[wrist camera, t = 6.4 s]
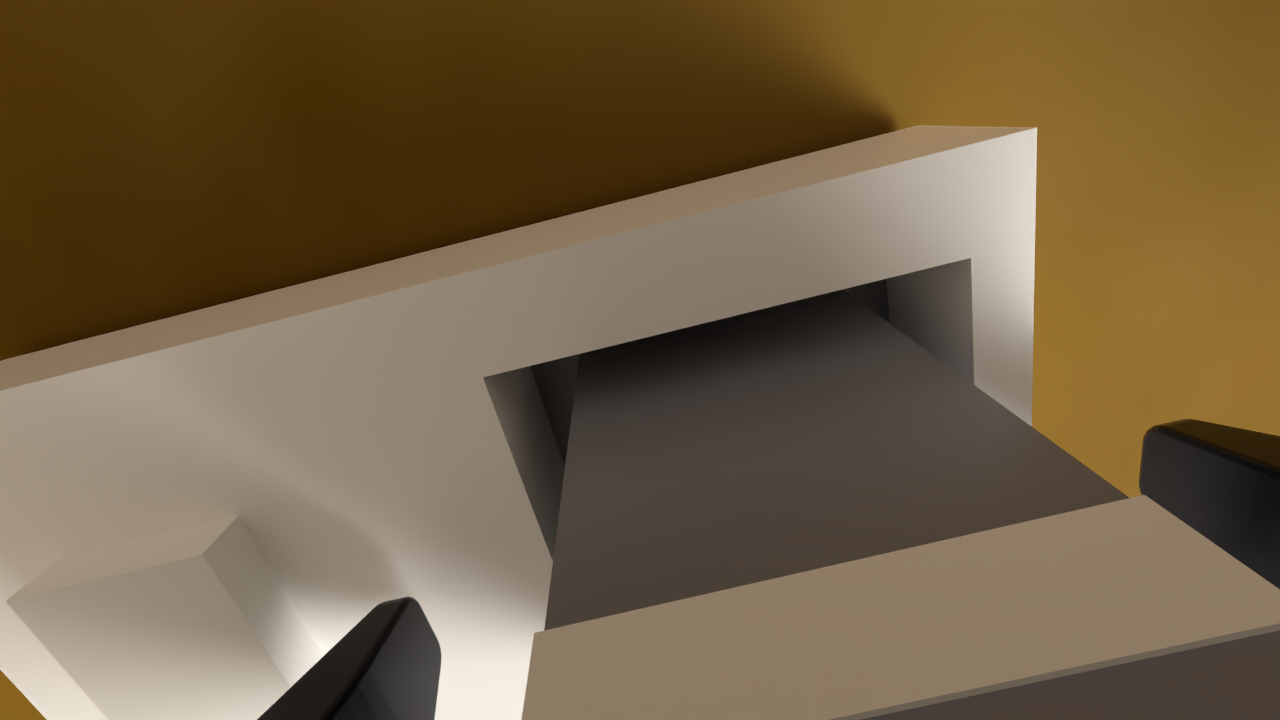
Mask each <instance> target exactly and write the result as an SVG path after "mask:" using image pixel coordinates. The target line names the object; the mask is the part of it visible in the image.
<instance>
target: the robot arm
mask: <svg viewBox="0 0 1280 720" xmlns="http://www.w3.org/2000/svg"><path fill="white" fill-rule="evenodd" d="M1139 488H1140V492H1141V494H1142V495H1146V496H1147V497H1148V498H1150V499H1151V500H1153V501H1154V502H1156V503H1157V504H1158V505H1160V506H1161V507H1163V508H1164V509H1166V510H1167V511H1168V512H1170V513H1171V514H1173V515H1174V516H1176V517H1177V518H1178V519H1180V520H1181V521H1183V522H1184V523H1186V524H1187V525H1188V526H1190V527H1191V528H1193V529H1194V530H1196V531H1197V532H1198V533H1200V534H1201V535H1203V536H1204V537H1206V538H1207V539H1208V540H1210V541H1211V542H1213V543H1214V544H1216V545H1217V546H1218V547H1220V548H1221V549H1223V550H1224V551H1226V552H1227V553H1228V554H1230V555H1231V556H1233V557H1234V558H1236V559H1237V560H1238V561H1240V562H1241V563H1243V564H1244V565H1246V566H1247V567H1248V568H1250V569H1251V570H1253V571H1254V572H1256V573H1257V574H1258V575H1260V576H1261V577H1263V578H1264V579H1265V580H1267V581H1268V582H1270V583H1271V584H1273V585H1274V586H1275V587H1277V588H1278V589H1280V436H1276V435H1270V434H1265V433H1260V432H1255V431H1250V430H1245V429H1240V428H1235V427H1230V426H1225V425H1220V424H1215V423H1210V422H1204V421H1199V420H1193V419H1183V420H1178V421H1173V422H1169V423H1165V424H1160V425H1156V426H1153V427H1152V428H1150V429H1148V431H1147V432H1146V434H1145V435H1144V439H1143V447H1142V457H1141V467H1140V477H1139ZM440 670H441V648H440V644H439V641H438V639H437V637H436V635H435V633H434V631H433V629H432V627H431V625H430V623H429V621H428V619H427V618H426V616H425V614H424V612H423V610H422V608H421V606H420V604H419V603H418V601H417V600H416V599H415V598H413V597H402V598H398V599H394V600H389V601H385V602H382V603H380V604H378V605H377V606H376V607H374V608H373V609H372V610H371V611H370V612H369V613H368V614H367V615H366V616H365V617H364V618H363V619H362V620H361V621H360V622H359V623H358V624H357V625H356V626H354V627H353V628H352V629H351V630H350V631H349V632H348V633H347V634H346V635H345V636H344V637H343V638H342V639H341V640H340V641H339V642H338V643H337V644H336V645H335V646H334V647H332V648H331V649H330V650H329V651H328V652H327V653H326V654H325V655H324V656H323V657H322V658H321V659H320V660H319V661H318V662H317V663H316V664H315V665H314V666H313V667H312V668H310V669H309V670H308V671H307V672H306V673H305V674H304V675H303V676H302V677H301V678H300V679H299V680H298V681H297V682H296V683H295V684H294V685H293V686H292V687H291V688H290V689H288V690H287V691H286V692H285V693H284V694H283V695H282V696H281V697H280V698H279V699H278V700H277V701H276V702H275V703H274V704H273V705H272V706H271V707H270V708H269V709H268V710H266V711H265V712H264V713H263V714H262V715H261V716H260V717H259V718H258V719H257V720H435V711H436V703H437V695H438V686H439V678H440Z"/></svg>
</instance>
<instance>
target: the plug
mask: <svg viewBox="0 0 1280 720" xmlns="http://www.w3.org/2000/svg"><path fill="white" fill-rule="evenodd" d="M521 720H1280V589H1278V588H1277V587H1275V586H1274V585H1273V584H1271V583H1270V582H1268V581H1267V580H1265V579H1264V578H1263V577H1261V576H1260V575H1258V574H1257V573H1256V572H1254V571H1253V570H1251V569H1250V568H1248V567H1247V566H1246V565H1244V564H1243V563H1241V562H1240V561H1238V560H1237V559H1236V558H1234V557H1233V556H1231V555H1230V554H1228V553H1227V552H1226V551H1224V550H1223V549H1221V548H1220V547H1218V546H1217V545H1216V544H1214V543H1213V542H1211V541H1210V540H1208V539H1207V538H1206V537H1204V536H1203V535H1201V534H1200V533H1198V532H1197V531H1196V530H1194V529H1193V528H1191V527H1190V526H1188V525H1187V524H1186V523H1184V522H1183V521H1181V520H1180V519H1178V518H1177V517H1176V516H1174V515H1173V514H1171V513H1170V512H1168V511H1167V510H1166V509H1164V508H1163V507H1161V506H1160V505H1158V504H1157V503H1156V502H1154V501H1153V500H1151V499H1150V498H1148V497H1147V496H1146V495H1141V496H1137V497H1132V498H1129V497H1128V496H1126V495H1125V494H1123V493H1122V492H1121V491H1119V490H1118V489H1117V488H1115V487H1114V486H1112V485H1111V484H1110V483H1108V482H1107V481H1106V480H1104V479H1103V478H1101V477H1100V476H1099V475H1097V474H1096V473H1095V472H1093V471H1092V470H1090V469H1089V468H1088V467H1086V466H1085V465H1084V464H1082V463H1081V462H1079V461H1078V460H1077V459H1075V458H1074V457H1073V456H1071V455H1070V454H1068V453H1067V452H1066V451H1064V450H1063V449H1062V448H1060V447H1059V446H1057V445H1056V444H1055V443H1053V442H1052V441H1051V440H1049V439H1048V438H1046V437H1045V436H1044V435H1042V434H1041V433H1040V432H1038V431H1037V430H1035V429H1034V428H1033V427H1031V426H1030V425H1029V424H1027V423H1026V422H1024V421H1023V420H1022V419H1020V418H1019V417H1018V416H1016V415H1015V414H1013V413H1012V412H1011V411H1009V410H1008V409H1007V408H1005V407H1004V406H1002V405H1001V404H1000V403H998V402H997V401H996V400H994V399H993V398H991V397H990V396H989V395H987V394H986V393H985V392H983V391H982V390H980V389H979V388H978V387H976V386H975V385H974V384H972V383H971V382H969V381H968V380H967V379H965V378H964V377H963V376H961V375H960V374H958V373H957V372H956V371H954V370H953V369H952V368H950V367H949V366H947V365H946V364H945V363H943V362H942V361H941V360H939V359H938V358H936V357H935V356H934V355H932V354H931V353H930V352H928V351H927V350H925V349H924V348H923V347H921V346H920V345H919V344H917V343H916V342H914V341H913V340H912V339H910V338H909V337H908V336H906V335H905V334H903V333H902V332H901V331H899V330H898V329H897V328H895V327H894V326H892V325H891V324H890V323H888V322H887V321H886V320H884V319H883V318H881V317H880V316H879V315H877V314H876V313H875V312H873V311H872V310H870V309H869V308H868V307H866V306H865V305H864V304H862V303H861V302H859V301H858V300H857V299H855V298H854V297H853V296H851V295H850V294H848V293H847V292H846V291H844V290H843V289H842V290H838V291H834V292H830V293H826V294H821V295H817V296H813V297H809V298H805V299H801V300H797V301H793V302H789V303H785V304H781V305H777V306H773V307H768V308H764V309H760V310H756V311H752V312H748V313H744V314H740V315H736V316H732V317H728V318H724V319H719V320H715V321H711V322H707V323H703V324H699V325H695V326H691V327H687V328H683V329H679V330H675V331H671V332H666V333H662V334H658V335H654V336H650V337H646V338H642V339H638V340H634V341H630V342H626V343H622V344H617V345H613V346H609V347H605V348H601V349H597V350H593V351H589V352H585V353H581V354H579V362H578V369H577V377H576V385H575V393H574V401H573V409H572V416H571V424H570V432H569V440H568V448H567V456H566V463H565V471H564V479H563V487H562V495H561V503H560V511H559V518H558V526H557V534H556V542H555V550H554V558H553V565H552V573H551V581H550V589H549V597H548V605H547V613H546V620H545V628H544V631H540V632H536V633H534V637H533V644H532V651H531V658H530V664H529V671H528V678H527V685H526V692H525V699H524V705H523V712H522V719H521Z"/></svg>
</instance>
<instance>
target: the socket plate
mask: <svg viewBox="0 0 1280 720" xmlns="http://www.w3.org/2000/svg"><path fill="white" fill-rule="evenodd" d="M1036 156H1037V128H1036V127H982V126H928V125H917V126H913V127H909V128H905V129H902V130H898V131H894V132H890V133H886V134H882V135H878V136H874V137H870V138H866V139H863V140H859V141H855V142H851V143H847V144H843V145H839V146H835V147H831V148H827V149H824V150H820V151H816V152H812V153H808V154H804V155H800V156H796V157H792V158H788V159H785V160H781V161H777V162H773V163H769V164H765V165H761V166H757V167H753V168H749V169H746V170H742V171H738V172H734V173H730V174H726V175H722V176H718V177H714V178H710V179H707V180H703V181H699V182H695V183H691V184H687V185H683V186H679V187H675V188H672V189H668V190H664V191H660V192H656V193H652V194H648V195H644V196H640V197H636V198H633V199H629V200H625V201H621V202H617V203H613V204H609V205H605V206H601V207H597V208H594V209H590V210H586V211H582V212H578V213H574V214H570V215H566V216H562V217H558V218H555V219H551V220H547V221H543V222H539V223H535V224H531V225H527V226H523V227H519V228H516V229H512V230H508V231H504V232H500V233H496V234H492V235H488V236H484V237H480V238H477V239H473V240H469V241H465V242H461V243H457V244H453V245H449V246H445V247H442V248H438V249H434V250H430V251H426V252H422V253H418V254H414V255H410V256H406V257H403V258H399V259H395V260H391V261H387V262H383V263H379V264H375V265H371V266H367V267H364V268H360V269H356V270H352V271H348V272H344V273H340V274H336V275H332V276H328V277H325V278H321V279H317V280H313V281H309V282H305V283H301V284H297V285H293V286H289V287H286V288H282V289H278V290H274V291H270V292H266V293H262V294H258V295H254V296H250V297H247V298H243V299H239V300H235V301H231V302H227V303H223V304H219V305H215V306H212V307H208V308H204V309H200V310H196V311H192V312H188V313H184V314H180V315H176V316H173V317H169V318H165V319H161V320H157V321H153V322H149V323H145V324H141V325H137V326H134V327H130V328H126V329H122V330H118V331H114V332H110V333H106V334H102V335H98V336H95V337H91V338H87V339H83V340H79V341H75V342H71V343H67V344H63V345H59V346H56V347H52V348H48V349H44V350H40V351H36V352H32V353H28V354H24V355H21V356H17V357H13V358H9V359H5V360H2V361H0V670H1V671H2V672H3V673H4V674H5V675H6V676H7V677H8V678H9V679H10V680H11V682H12V683H13V684H14V685H15V686H16V687H17V688H18V689H19V690H20V691H21V692H22V693H23V694H24V696H25V697H26V698H27V699H28V700H29V701H30V702H31V703H32V704H33V705H34V706H35V707H36V708H37V710H38V711H39V712H40V713H41V714H42V715H43V716H44V717H45V718H46V719H47V720H257V719H258V718H259V717H260V716H261V715H262V714H263V713H264V712H265V711H266V710H268V709H269V708H270V707H271V706H272V705H273V704H274V703H275V702H276V701H277V700H278V699H279V698H280V697H281V696H282V695H283V694H284V693H285V692H286V691H287V690H288V689H290V688H291V687H292V686H293V685H294V684H295V683H296V682H297V681H298V680H299V679H300V678H301V677H302V676H303V675H304V674H305V673H306V672H307V671H308V670H309V669H310V668H312V667H313V666H314V665H315V664H316V663H317V662H318V661H319V660H320V659H321V658H322V657H323V656H324V655H325V654H326V653H327V652H328V651H329V650H330V649H331V648H332V647H334V646H335V645H336V644H337V643H338V642H339V641H340V640H341V639H342V638H343V637H344V636H345V635H346V634H347V633H348V632H349V631H350V630H351V629H352V628H353V627H354V626H356V625H357V624H358V623H359V622H360V621H361V620H362V619H363V618H364V617H365V616H366V615H367V614H368V613H369V612H370V611H371V610H372V609H373V608H374V607H376V606H377V605H378V604H380V603H382V602H385V601H389V600H394V599H398V598H402V597H413V598H415V599H416V600H417V601H418V603H419V604H420V606H421V608H422V610H423V612H424V614H425V616H426V618H427V619H428V621H429V623H430V625H431V627H432V629H433V631H434V633H435V635H436V637H437V639H438V641H439V644H440V648H441V670H440V678H439V686H438V695H437V703H436V711H435V720H521V719H522V712H523V705H524V699H525V692H526V685H527V678H528V671H529V664H530V658H531V651H532V644H533V637H534V633H536V632H540V631H544V628H545V620H546V613H547V605H548V597H549V589H550V581H551V573H552V565H553V558H554V550H555V542H556V534H557V526H558V518H559V511H560V503H561V495H562V487H563V479H564V471H565V463H566V456H567V448H568V440H569V432H570V424H571V416H572V409H573V401H574V393H575V385H576V377H577V369H578V362H579V354H581V353H585V352H589V351H593V350H597V349H601V348H605V347H609V346H613V345H617V344H622V343H626V342H630V341H634V340H638V339H642V338H646V337H650V336H654V335H658V334H662V333H666V332H671V331H675V330H679V329H683V328H687V327H691V326H695V325H699V324H703V323H707V322H711V321H715V320H719V319H724V318H728V317H732V316H736V315H740V314H744V313H748V312H752V311H756V310H760V309H764V308H768V307H773V306H777V305H781V304H785V303H789V302H793V301H797V300H801V299H805V298H809V297H813V296H817V295H821V294H826V293H830V292H834V291H838V290H842V289H843V290H844V291H846V292H847V293H848V294H850V295H851V296H853V297H854V298H855V299H857V300H858V301H859V302H861V303H862V304H864V305H865V306H866V307H868V308H869V309H870V310H872V311H873V312H875V313H876V314H877V315H879V316H880V317H881V318H883V319H884V320H886V321H887V322H888V323H890V324H891V325H892V326H894V327H895V328H897V329H898V330H899V331H901V332H902V333H903V334H905V335H906V336H908V337H909V338H910V339H912V340H913V341H914V342H916V343H917V344H919V345H920V346H921V347H923V348H924V349H925V350H927V351H928V352H930V353H931V354H932V355H934V356H935V357H936V358H938V359H939V360H941V361H942V362H943V363H945V364H946V365H947V366H949V367H950V368H952V369H953V370H954V371H956V372H957V373H958V374H960V375H961V376H963V377H964V378H965V379H967V380H968V381H969V382H971V383H972V384H974V385H975V386H976V387H978V388H979V389H980V390H982V391H983V392H985V393H986V394H987V395H989V396H990V397H991V398H993V399H994V400H996V401H997V402H998V403H1000V404H1001V405H1002V406H1004V407H1005V408H1007V409H1008V410H1009V411H1011V412H1012V413H1013V414H1015V415H1016V416H1018V417H1019V418H1020V419H1022V420H1023V421H1024V422H1026V423H1027V424H1029V425H1030V426H1031V427H1032V375H1033V320H1034V266H1035V211H1036Z"/></svg>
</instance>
